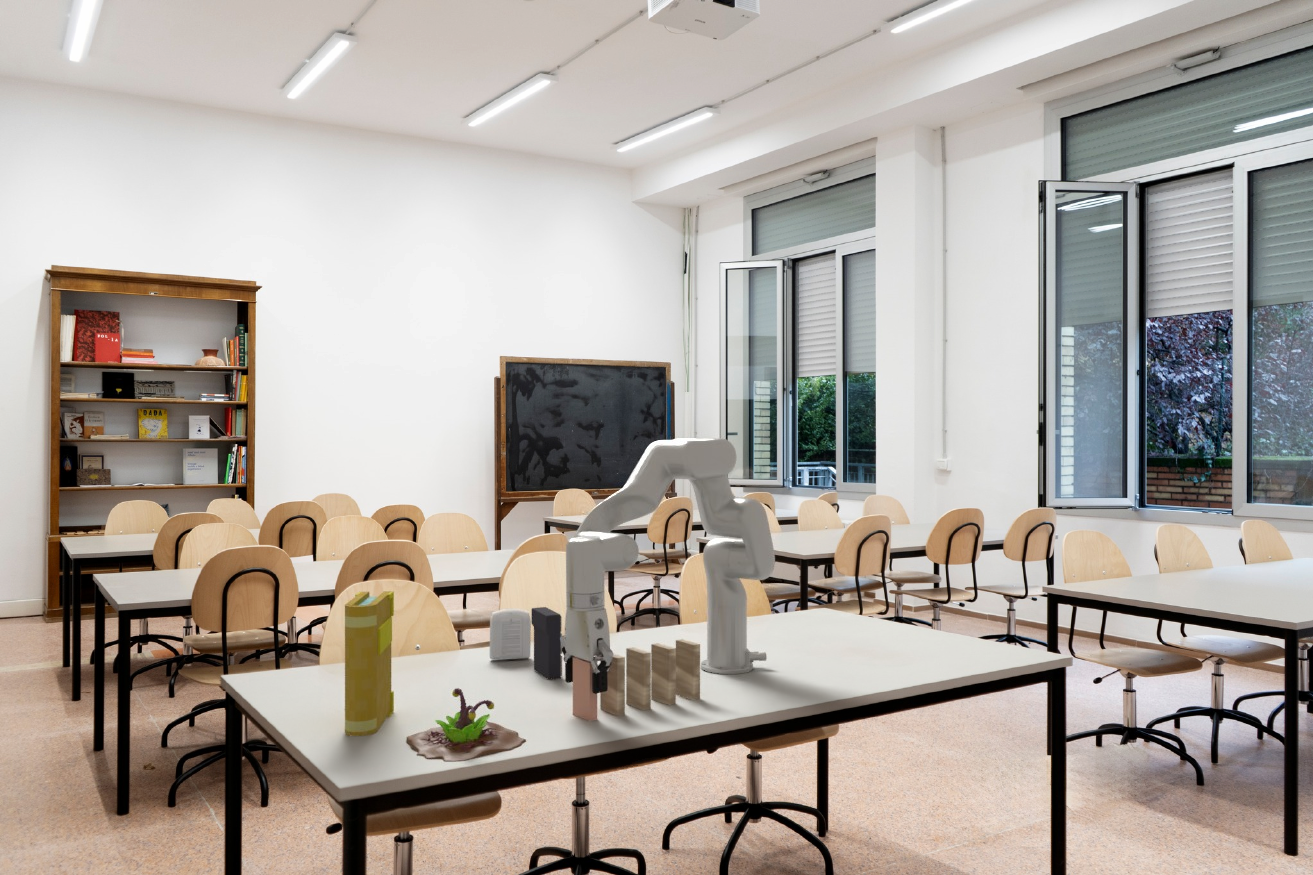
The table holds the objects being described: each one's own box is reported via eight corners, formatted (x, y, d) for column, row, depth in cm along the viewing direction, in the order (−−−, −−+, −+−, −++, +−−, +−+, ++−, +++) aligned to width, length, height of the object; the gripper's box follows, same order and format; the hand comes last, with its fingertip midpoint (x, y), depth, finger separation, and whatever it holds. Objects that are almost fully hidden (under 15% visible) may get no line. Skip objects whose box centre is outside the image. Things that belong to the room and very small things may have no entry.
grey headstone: (529, 654, 248) (529, 606, 248) (531, 658, 243) (531, 609, 243) (489, 656, 245) (489, 608, 245) (490, 660, 241) (490, 611, 241)
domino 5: (682, 694, 209) (682, 639, 209) (700, 700, 204) (700, 643, 204) (675, 695, 208) (675, 640, 208) (693, 702, 203) (693, 645, 203)
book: (359, 715, 195) (359, 591, 194) (393, 714, 195) (393, 591, 195) (339, 742, 178) (339, 606, 178) (376, 741, 178) (376, 606, 178)
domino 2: (607, 710, 197) (607, 651, 197) (624, 717, 192) (624, 657, 192) (600, 711, 196) (600, 652, 196) (617, 718, 191) (617, 658, 191)
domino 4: (658, 699, 205) (658, 643, 205) (675, 706, 200) (675, 648, 200) (651, 701, 204) (651, 644, 204) (668, 707, 199) (668, 649, 199)
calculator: (564, 678, 224) (564, 614, 224) (546, 681, 222) (546, 615, 222) (548, 668, 234) (548, 606, 233) (531, 670, 232) (531, 607, 232)
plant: (485, 728, 188) (486, 670, 188) (540, 754, 173) (540, 691, 173) (388, 749, 175) (388, 687, 175) (438, 780, 160) (438, 712, 160)
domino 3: (633, 704, 201) (633, 647, 201) (650, 711, 196) (650, 652, 196) (626, 706, 200) (626, 648, 200) (643, 713, 195) (643, 653, 195)
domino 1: (580, 715, 193) (580, 655, 193) (597, 723, 189) (597, 661, 188) (572, 717, 192) (572, 657, 192) (589, 724, 187) (589, 663, 187)
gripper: (626, 604, 186) (627, 693, 186) (577, 591, 199) (578, 674, 200) (593, 609, 181) (594, 700, 181) (546, 596, 195) (546, 680, 195)
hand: (586, 686), depth 191 cm, fingers open, 9 cm apart
